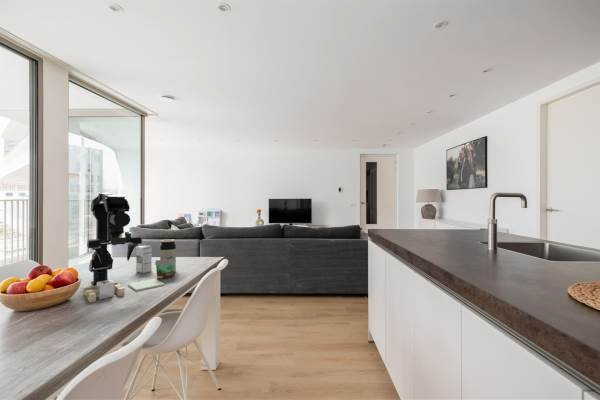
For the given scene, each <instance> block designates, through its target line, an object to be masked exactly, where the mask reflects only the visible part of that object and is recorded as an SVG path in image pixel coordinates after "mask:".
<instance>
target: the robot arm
mask: <svg viewBox="0 0 600 400" xmlns="http://www.w3.org/2000/svg"><path fill="white" fill-rule="evenodd" d="M90 204H91V205H90V211H91V212H92V216H93V217H94V218H95V221H96V223H95V224H96V225H95V226H96V227H95V228H96V229H95V230H96V232H95V238H94V239H88V240H87V241H86V247H87V249H91V250H92V251H94V252H93V254H92V255H91V259H90V260H89V266H88V270H89V272H90V273H92V275H93V276H92V277H93V278H92V281H90V283H91V284H92V285H93V286H97V282H101V281H107V280H109V279H108V270H112V269H113V265H114V259H113V257H112V254H111V253H110V251H109V250H108V245H112V246H117V245H125V244H127V254H126V259H127V260H126V261H127V262H129V261H130V258H131V256H132V253H133V252H134V249H136V247H138V246H139V245H140V244H142V243H143V239H142V237H141V236H138V235H134V236H132V232H131V231H125V230H124V227H126V226H128V225H129V224H130V222H131V216H130V215H129V214H128V212H130V203H129V200H128V199H127V198H126V196H125V195H114V194H113V193H111V192H99V193H98V195H97V196H96V197H95V198H93V199H92V200H91V203H90ZM126 212H127V213H126Z"/></svg>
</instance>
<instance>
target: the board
mask: <svg viewBox="0 0 600 400" xmlns="http://www.w3.org/2000/svg"><path fill="white" fill-rule="evenodd" d="M127 286H128V287H129V288H131V289H132V290H134V291H135V292H139V291H143V290H149V289H155V288H158V287H164V286H165V283H164V282H162V281H160V280H159V279H157V278H153V279H147V280H142V281H137V282H131V283H127Z"/></svg>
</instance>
